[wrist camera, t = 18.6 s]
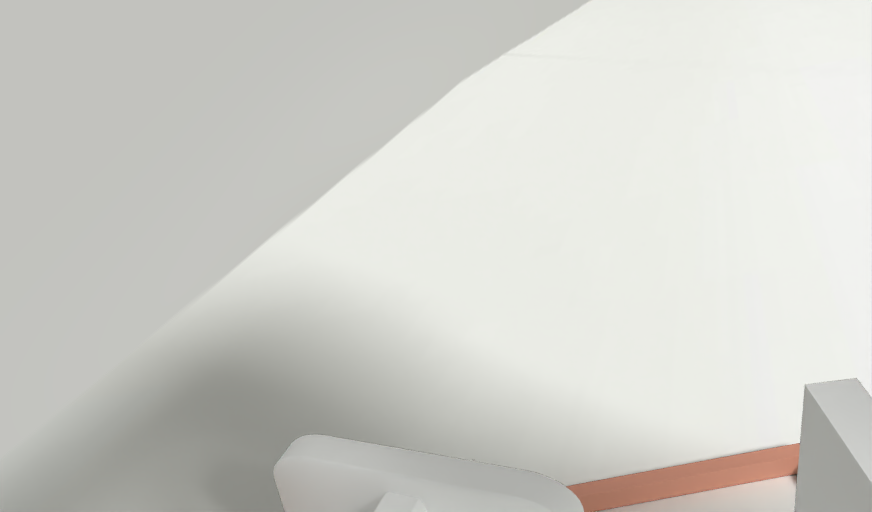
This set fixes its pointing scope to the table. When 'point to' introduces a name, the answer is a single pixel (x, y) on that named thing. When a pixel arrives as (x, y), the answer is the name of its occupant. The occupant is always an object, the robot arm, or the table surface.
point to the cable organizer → (406, 481)
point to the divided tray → (688, 478)
